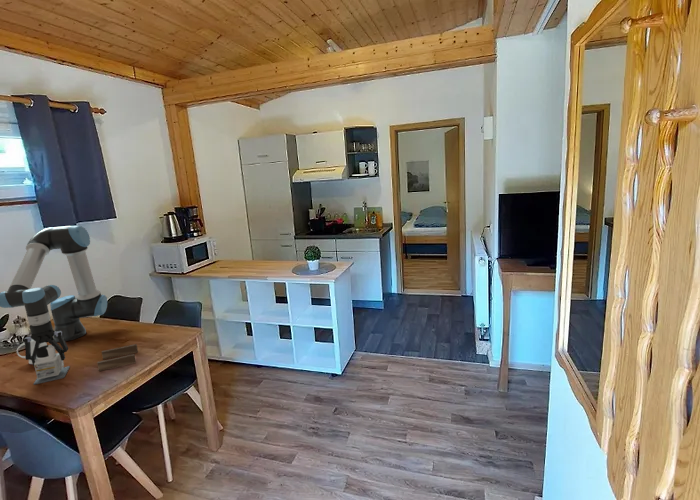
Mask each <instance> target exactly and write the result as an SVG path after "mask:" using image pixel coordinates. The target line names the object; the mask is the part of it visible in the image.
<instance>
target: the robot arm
mask: <svg viewBox="0 0 700 500" xmlns="http://www.w3.org/2000/svg"><path fill="white" fill-rule="evenodd" d="M89 245H91V236H90V234H89V232H88V231H87V228H85V227H83V226H81V225H65V226H54V227H53V226H51V227H47V228H44V229H42V230H40V231H38V232H36V233H35V234H34V235H33V236H32V237H31V238H30V239H29V241H28V242H27V244H26V246H25V250H26V252H25V253H24V255H23V258H22V260H21V262H20V265H19V267H18V269H17V271H16V273H15V275H14V277H13V279H12V282H11V284H10V286H9V287H8V290H5V291H1V292H0V307H1V308H3V309H8V308H9V309H10V308H17V307H18V308H19V307H24V310H25V312H26V318H27V322H28V325H29V330H30V333H31V334H30V336H26V337H24V339H23V340H22V341H23V343H25V345H24V346H25V347H24V348H25V349H24V350H25V352H24V353H25V355H24V356H26V358H25V360H26V361H29V360H32V363H33V364H32V366H33V367H35V366H34V363H35V362H36V361H37V358H36V357H37V355H36V350H37V349H38V348H39V345H40V344H41V343H44V342H47V343H48V344H49V345H52V346H54V348H55V352H56V353H59V354H58V359H59V363H60V368H63V367H65V362H64V360H65V359H66V355H65V353H67V352H68V350H69V346H68V344H67V342H68V341H72V340H76V339H79V338H81V337H83V336H85V335H86V334H87V329H86V328H85V326H84V325H83V323H82V321H81V320H80V319H82V318H83V319H84V318H90V317H98V316H103V315H104V314H105V313H106V311H107V308H108V298H107V296H106V295H105V294H101V290H99V289H97V288H96V283H95V281H94V276H93V274H92V269H91V267H90V263H89V260H88V256H87V252H86V251H87V250H88V248H89ZM52 250H60V251H61V254H63V255H64V256H66V259H67V261H68V265H69V268H70V272H71V275H72V278H73V281H74V284H75V287H76V291H77V293H78V294H77V295H76V296H75V295H72V294H70V295H65V296H63V297H62V296H61V295H62V291H61V289H60V287H59V286H57V285H54V284H50V285H46V286H44V287H33V284H34V282H35V280H36V277H37V276H38V273H39V271H40V268H41V266H42V264H43V261H44V260H45V257H46V256H47V255H49V254H50V252H51V251H52ZM32 287H33V288H32ZM60 296H61V297H60ZM48 305H50V311H51V315H50V312H49V308H48ZM51 317H52V320H53V324H54V328H53V324H52V321H51ZM31 339H33V340H34V341H36V343H35V347H34V351H33V354H32V356H31V344H30V341H31Z"/></svg>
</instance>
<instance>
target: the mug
mask: <svg viewBox="0 0 700 500" xmlns="http://www.w3.org/2000/svg"><path fill="white" fill-rule="evenodd" d="M35 343H36V341H34V340H33V339H31V341H30V344H31V356H32V354H33V351H34V347H35ZM45 345H48V342H44V343H41V344H40V345H39V348H40V347H42V346H45ZM23 346H25V343H24V342H22V343H21V344H19V345H18V347H17V349H16V354H17V356H18V357H20V359H21V358H22V359H26V355H21V354H20V353H19V349H21V347H23ZM36 358H37V357H36ZM28 364H29V365H33V363H32V360H28Z"/></svg>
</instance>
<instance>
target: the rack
mask: <svg viewBox="0 0 700 500" xmlns="http://www.w3.org/2000/svg"><path fill="white" fill-rule="evenodd" d="M138 352H139V350H138V345H137V343H135V344H130V345H124V346H121V347H115V348H110V349H106V350H102V351H101V357H102V360H101V361H97V363H96V364H97V367H98V372H101V371H106V370H110V369H115V368H119V367H124V366H127V365H132V364H136V363H137V361H136V360H137V359H136V355H135V354H136V353H138Z"/></svg>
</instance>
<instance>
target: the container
mask: <svg viewBox="0 0 700 500" xmlns="http://www.w3.org/2000/svg"><path fill="white" fill-rule="evenodd" d="M58 354H59V353H58V352H57V351H56V349H55V348H54V346H52V345H51V344H47V345H45V346H42V347H40V348H38V349H37V350H36V355H37V361H36V362H35V363H34V366H33V367H34V370H35V374H36V379H42V378H47V377H52V376H56V375H59V373H60V371H61V370H62V368H60V363H59V359H58Z"/></svg>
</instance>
